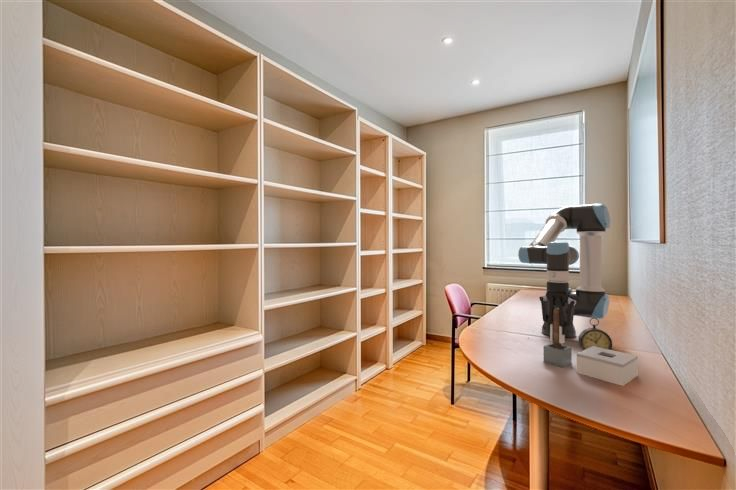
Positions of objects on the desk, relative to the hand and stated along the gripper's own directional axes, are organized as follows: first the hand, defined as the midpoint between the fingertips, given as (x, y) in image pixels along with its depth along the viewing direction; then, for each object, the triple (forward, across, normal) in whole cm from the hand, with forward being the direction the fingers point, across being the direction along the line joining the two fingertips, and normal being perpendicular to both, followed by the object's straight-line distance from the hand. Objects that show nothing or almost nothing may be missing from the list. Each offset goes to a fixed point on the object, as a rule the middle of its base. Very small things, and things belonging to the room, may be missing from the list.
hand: (557, 341), depth 133 cm
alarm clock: (+8, +6, +18) cm, 21 cm away
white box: (+8, +16, +2) cm, 18 cm away
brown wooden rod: (+5, 0, 0) cm, 5 cm away
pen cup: (+8, 0, 0) cm, 8 cm away
